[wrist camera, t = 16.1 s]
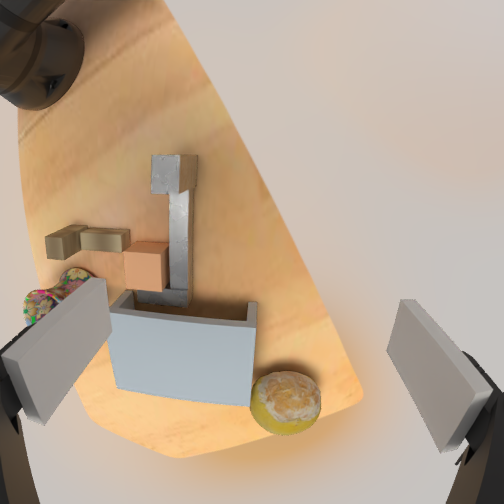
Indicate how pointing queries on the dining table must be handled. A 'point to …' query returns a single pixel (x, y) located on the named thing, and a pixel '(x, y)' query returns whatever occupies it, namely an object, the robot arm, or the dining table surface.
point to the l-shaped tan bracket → (85, 241)
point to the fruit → (285, 402)
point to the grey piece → (176, 226)
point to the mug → (52, 295)
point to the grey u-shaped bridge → (182, 354)
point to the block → (147, 266)
